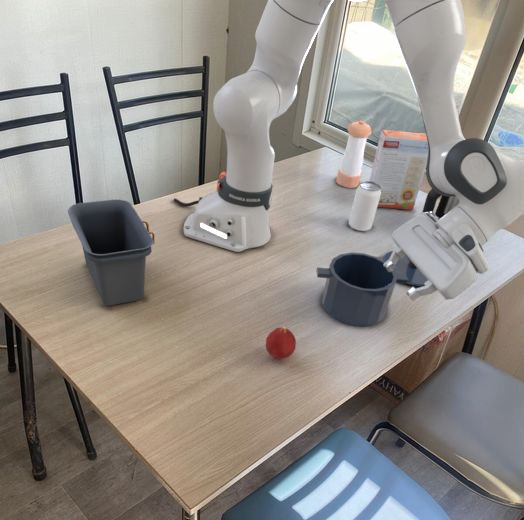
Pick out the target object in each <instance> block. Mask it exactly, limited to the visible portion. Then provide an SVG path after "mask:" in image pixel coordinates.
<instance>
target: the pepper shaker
mask: <svg viewBox="0 0 524 520" xmlns="http://www.w3.org/2000/svg"><path fill="white" fill-rule="evenodd" d="M347 133H348V137H347V142H346V147H345V150H344V152H343V154H342V158H341V161H340V167H339V168H338V170H337V174H336V179H335V182H336V183H337V184H338V185H339V186H341V187H344V188H347V189H348V188H349V189H353V188H358V187H359V185H360V182H361V176H362V168H363V165H364V154H365V149H366V144H367V140H368V138H369V137H370V136H371V134H372V127H371V126H370V125H369V124H368V123H366V122H365V121H364V120H359V121H354V122H351V123H349V125H348V127H347Z"/></svg>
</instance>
